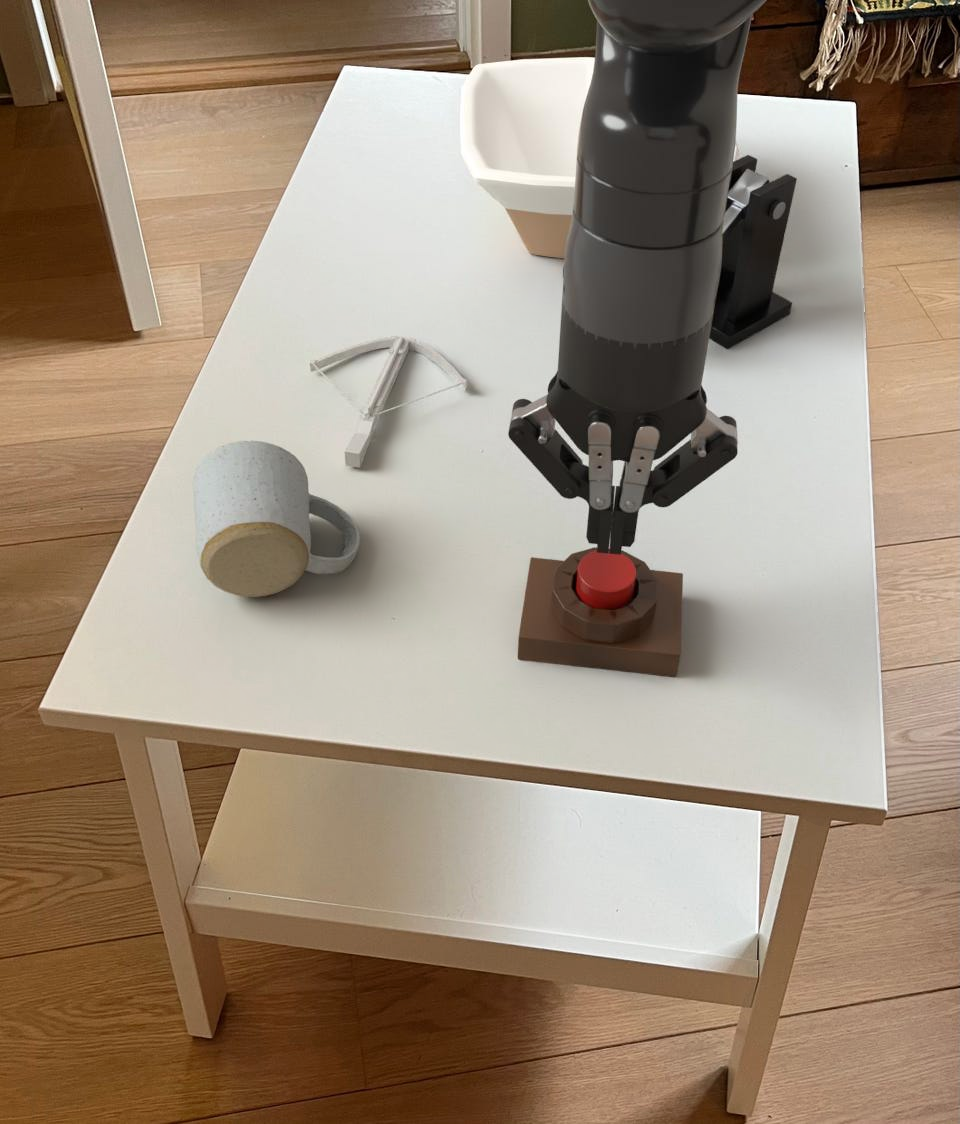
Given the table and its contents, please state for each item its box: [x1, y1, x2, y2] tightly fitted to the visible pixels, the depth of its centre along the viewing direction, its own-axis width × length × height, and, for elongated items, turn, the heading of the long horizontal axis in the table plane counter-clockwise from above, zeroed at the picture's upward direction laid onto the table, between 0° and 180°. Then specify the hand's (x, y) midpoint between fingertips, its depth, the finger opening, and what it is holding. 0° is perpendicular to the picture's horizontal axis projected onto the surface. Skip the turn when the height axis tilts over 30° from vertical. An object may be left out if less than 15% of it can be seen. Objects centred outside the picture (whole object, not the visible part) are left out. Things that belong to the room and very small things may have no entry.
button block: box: [517, 546, 684, 678], centre depth 75 cm, size 10×7×4 cm
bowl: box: [459, 56, 740, 259], centre depth 108 cm, size 24×25×11 cm
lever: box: [722, 169, 770, 244], centre depth 94 cm, size 14×3×3 cm
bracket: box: [709, 154, 798, 350], centre depth 97 cm, size 8×7×13 cm
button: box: [576, 551, 636, 610], centre depth 74 cm, size 4×4×2 cm
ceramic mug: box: [192, 440, 361, 598], centre depth 78 cm, size 11×8×8 cm
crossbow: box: [309, 335, 468, 469], centre depth 92 cm, size 16×13×2 cm
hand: (609, 543), depth 71 cm, fingers closed
